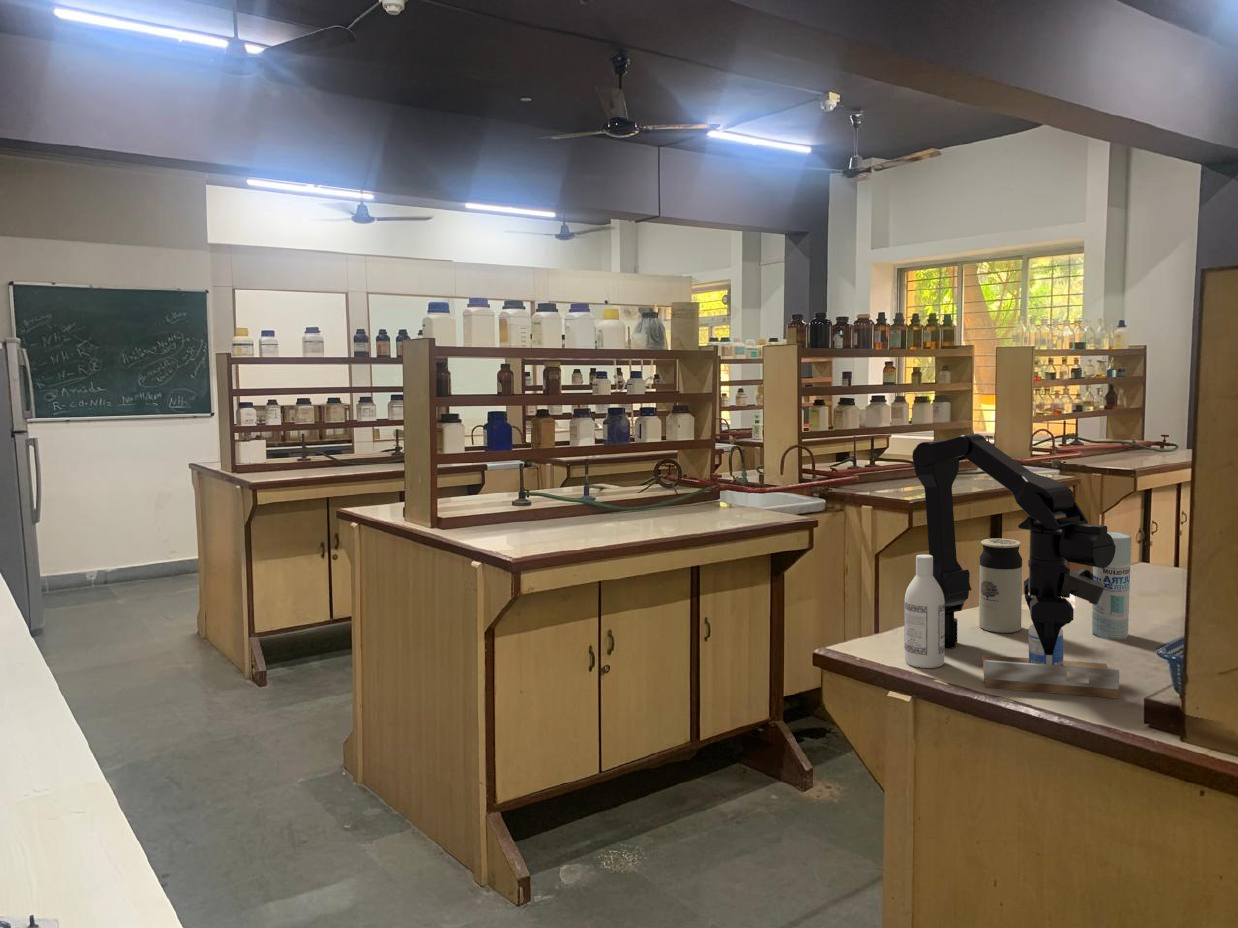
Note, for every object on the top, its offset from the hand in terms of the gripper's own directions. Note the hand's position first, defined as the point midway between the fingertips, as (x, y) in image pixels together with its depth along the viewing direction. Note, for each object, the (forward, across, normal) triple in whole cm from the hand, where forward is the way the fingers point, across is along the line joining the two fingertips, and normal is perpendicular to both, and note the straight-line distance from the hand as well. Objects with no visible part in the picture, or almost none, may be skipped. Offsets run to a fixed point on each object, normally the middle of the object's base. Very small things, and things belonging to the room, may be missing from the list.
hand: (1046, 646), depth 156 cm
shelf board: (+6, -1, 0) cm, 6 cm away
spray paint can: (+6, +29, -14) cm, 33 cm away
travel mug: (+6, +29, +6) cm, 30 cm away
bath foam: (+6, +3, +20) cm, 21 cm away
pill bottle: (+4, 0, 0) cm, 4 cm away
